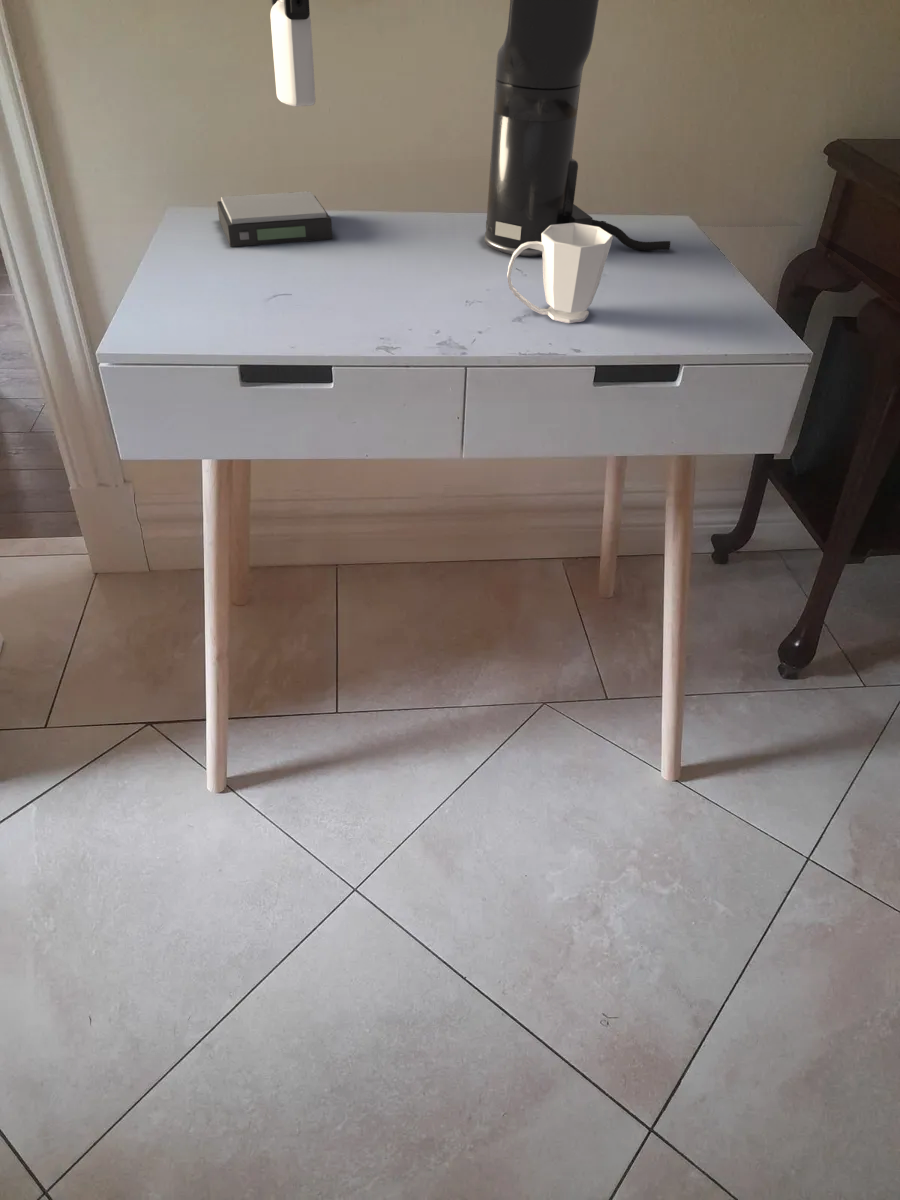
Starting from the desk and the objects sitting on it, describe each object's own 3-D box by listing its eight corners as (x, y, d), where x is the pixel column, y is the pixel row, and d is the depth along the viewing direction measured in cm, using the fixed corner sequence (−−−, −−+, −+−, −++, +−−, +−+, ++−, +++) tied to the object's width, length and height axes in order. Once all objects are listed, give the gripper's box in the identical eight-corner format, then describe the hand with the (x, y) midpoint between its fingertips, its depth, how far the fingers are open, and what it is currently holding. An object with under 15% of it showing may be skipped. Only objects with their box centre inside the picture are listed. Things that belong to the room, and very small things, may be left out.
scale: (315, 215, 112) (314, 190, 110) (332, 240, 105) (331, 213, 103) (219, 221, 109) (216, 195, 107) (230, 247, 102) (227, 221, 100)
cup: (605, 330, 89) (618, 248, 84) (505, 326, 89) (512, 243, 83) (597, 302, 94) (608, 223, 89) (503, 298, 94) (509, 219, 89)
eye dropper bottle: (321, 96, 92) (314, -47, 84) (313, 108, 88) (305, -40, 80) (279, 94, 92) (267, -49, 84) (269, 106, 88) (256, -43, 80)
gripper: (339, -227, 70) (347, 26, 81) (299, -221, 80) (312, 2, 91) (244, -233, 68) (265, 27, 79) (215, -227, 78) (238, 3, 89)
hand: (290, 13), depth 85 cm, fingers closed on eye dropper bottle, 5 cm apart
